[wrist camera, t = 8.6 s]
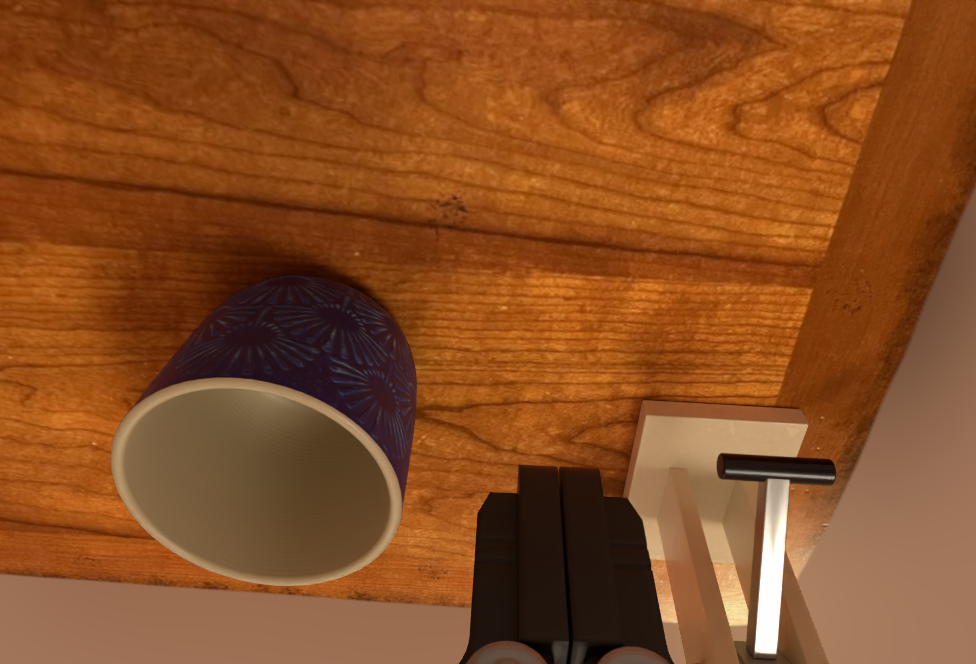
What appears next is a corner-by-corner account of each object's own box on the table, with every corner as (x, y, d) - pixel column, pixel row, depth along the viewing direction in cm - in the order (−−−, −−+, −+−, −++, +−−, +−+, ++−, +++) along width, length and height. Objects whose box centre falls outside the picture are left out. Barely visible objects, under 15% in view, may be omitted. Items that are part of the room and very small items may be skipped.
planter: (470, 389, 40) (454, 542, 31) (297, 459, 44) (237, 614, 35) (348, 210, 34) (284, 332, 25) (160, 307, 38) (44, 445, 29)
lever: (712, 447, 33) (729, 458, 31) (819, 453, 33) (844, 465, 31) (695, 695, 34) (710, 725, 31) (799, 701, 34) (822, 732, 31)
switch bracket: (642, 399, 40) (695, 635, 28) (801, 408, 40) (925, 649, 28) (613, 540, 47) (645, 782, 34) (749, 549, 46) (831, 794, 34)
